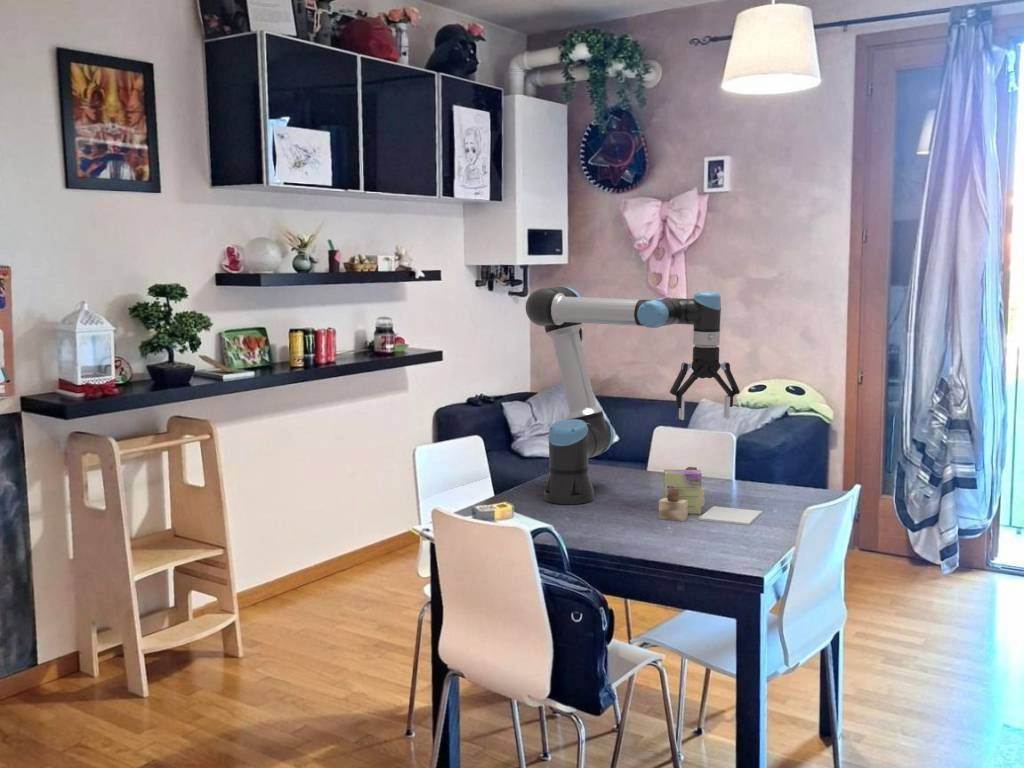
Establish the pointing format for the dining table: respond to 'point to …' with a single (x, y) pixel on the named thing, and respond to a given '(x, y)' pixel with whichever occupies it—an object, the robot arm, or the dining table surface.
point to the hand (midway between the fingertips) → (704, 418)
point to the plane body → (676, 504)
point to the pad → (730, 515)
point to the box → (685, 487)
